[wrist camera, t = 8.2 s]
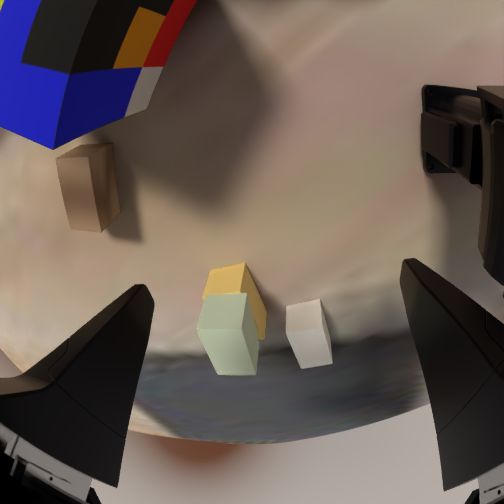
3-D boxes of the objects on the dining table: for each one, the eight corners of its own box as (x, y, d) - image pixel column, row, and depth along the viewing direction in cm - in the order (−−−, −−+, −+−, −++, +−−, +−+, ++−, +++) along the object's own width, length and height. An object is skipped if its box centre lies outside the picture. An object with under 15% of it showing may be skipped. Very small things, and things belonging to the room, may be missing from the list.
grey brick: (286, 304, 27) (285, 333, 24) (319, 298, 26) (322, 326, 23) (300, 341, 30) (301, 368, 27) (329, 336, 29) (332, 363, 26)
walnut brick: (81, 144, 19) (55, 158, 16) (113, 142, 19) (88, 156, 16) (92, 208, 23) (70, 229, 20) (121, 211, 23) (101, 232, 20)
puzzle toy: (146, 109, 17) (53, 150, 9) (51, 77, 16) (-45, 107, 7) (206, -16, 12) (142, -75, 4) (94, -32, 10) (2, -52, 2)
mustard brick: (210, 269, 25) (202, 297, 22) (245, 262, 24) (239, 290, 21) (235, 315, 28) (230, 343, 25) (266, 310, 27) (264, 339, 25)
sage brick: (206, 294, 22) (195, 329, 19) (246, 292, 22) (241, 328, 19) (224, 342, 25) (218, 374, 23) (259, 341, 25) (255, 374, 22)
